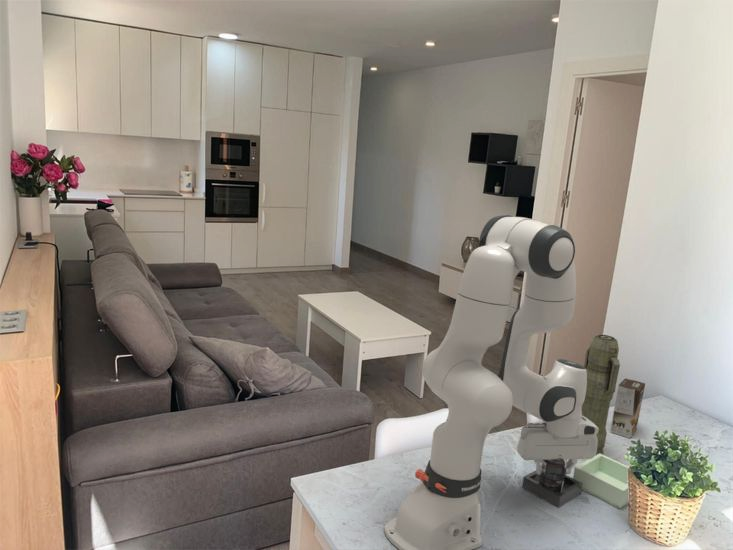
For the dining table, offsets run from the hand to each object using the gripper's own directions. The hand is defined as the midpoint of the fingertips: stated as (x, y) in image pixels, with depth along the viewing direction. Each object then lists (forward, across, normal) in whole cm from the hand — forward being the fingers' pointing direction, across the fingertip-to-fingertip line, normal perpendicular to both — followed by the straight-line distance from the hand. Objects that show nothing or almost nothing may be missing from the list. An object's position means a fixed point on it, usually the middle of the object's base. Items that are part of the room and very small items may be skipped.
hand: (552, 473), depth 146 cm
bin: (+5, +16, 0) cm, 17 cm away
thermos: (+5, +23, +20) cm, 30 cm away
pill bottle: (+4, 0, 0) cm, 5 cm away
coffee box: (+5, +42, +31) cm, 53 cm away
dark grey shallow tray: (+5, 0, 0) cm, 5 cm away
